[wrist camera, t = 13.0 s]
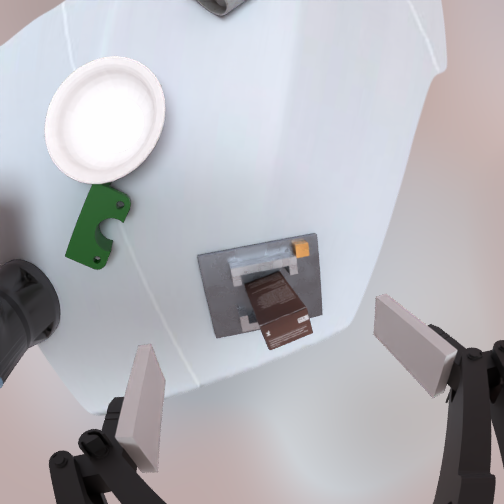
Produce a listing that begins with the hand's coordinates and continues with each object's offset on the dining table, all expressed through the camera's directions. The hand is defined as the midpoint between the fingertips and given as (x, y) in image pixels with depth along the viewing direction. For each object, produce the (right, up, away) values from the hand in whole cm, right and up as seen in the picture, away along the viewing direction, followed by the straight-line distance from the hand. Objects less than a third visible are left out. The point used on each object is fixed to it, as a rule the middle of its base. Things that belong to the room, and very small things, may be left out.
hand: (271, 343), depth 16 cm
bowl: (-20, +23, +20) cm, 37 cm away
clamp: (-23, +10, +24) cm, 34 cm away
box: (+1, -1, +30) cm, 30 cm away
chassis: (+1, 0, +30) cm, 30 cm away
